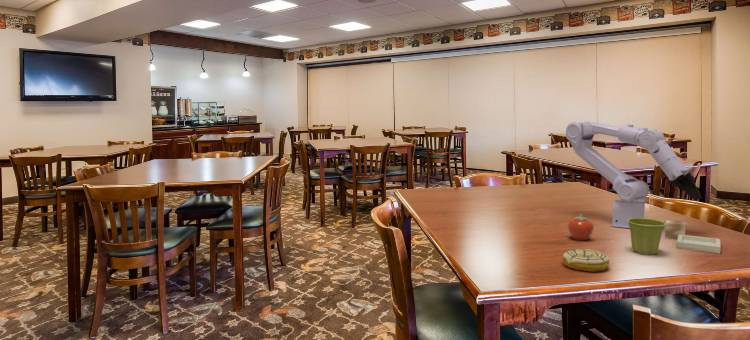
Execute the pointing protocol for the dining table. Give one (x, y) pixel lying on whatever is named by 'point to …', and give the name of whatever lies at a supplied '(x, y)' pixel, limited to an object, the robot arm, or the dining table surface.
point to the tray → (698, 243)
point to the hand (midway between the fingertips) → (697, 198)
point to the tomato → (580, 228)
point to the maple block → (674, 229)
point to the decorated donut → (586, 260)
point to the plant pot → (645, 234)
